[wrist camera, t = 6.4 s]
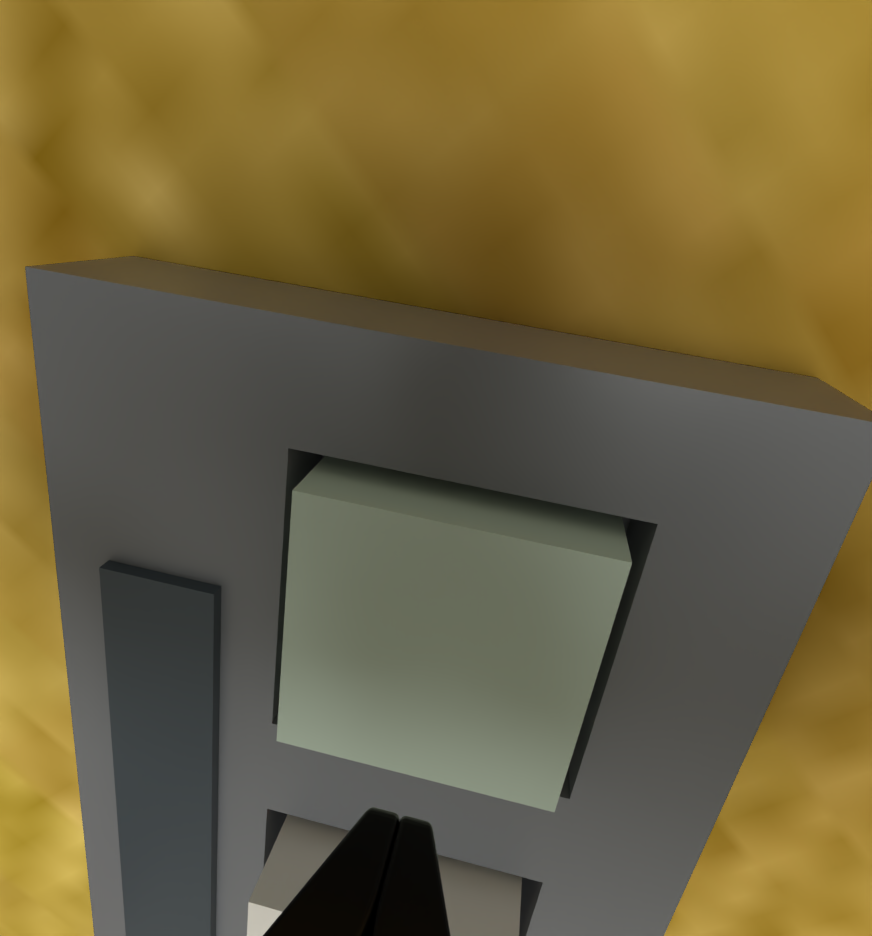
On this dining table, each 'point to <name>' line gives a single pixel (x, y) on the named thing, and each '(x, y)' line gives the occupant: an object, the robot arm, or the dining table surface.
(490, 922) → the key offwhite
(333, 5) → the dining table surface
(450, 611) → the key sage
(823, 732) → the dining table surface
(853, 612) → the dining table surface
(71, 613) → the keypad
